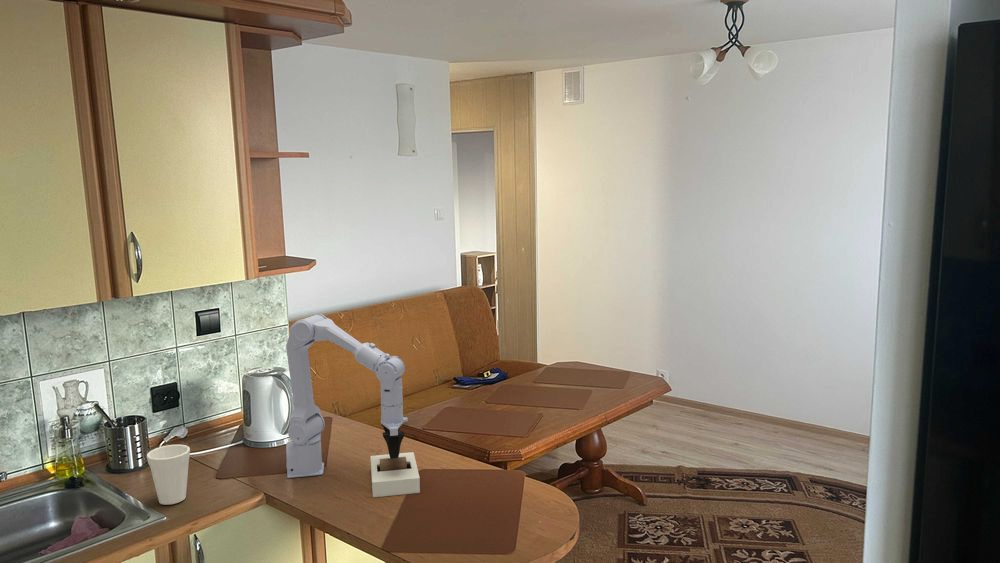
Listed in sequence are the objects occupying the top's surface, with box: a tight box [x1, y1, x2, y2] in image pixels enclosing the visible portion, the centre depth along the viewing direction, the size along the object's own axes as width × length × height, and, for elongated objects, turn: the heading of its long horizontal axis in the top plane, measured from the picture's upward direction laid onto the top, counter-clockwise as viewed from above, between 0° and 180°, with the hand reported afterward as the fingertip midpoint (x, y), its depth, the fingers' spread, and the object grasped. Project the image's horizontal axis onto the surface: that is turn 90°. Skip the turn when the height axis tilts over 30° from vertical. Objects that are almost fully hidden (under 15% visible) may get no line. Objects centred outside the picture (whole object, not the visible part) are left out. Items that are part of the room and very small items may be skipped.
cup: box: [146, 444, 191, 505], centre depth 178 cm, size 10×10×13 cm
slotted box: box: [370, 451, 421, 498], centre depth 189 cm, size 12×18×4 cm, turn 12°
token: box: [379, 457, 408, 472], centre depth 189 cm, size 7×3×6 cm, turn 101°
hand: (393, 452), depth 188 cm, fingers open, 7 cm apart
